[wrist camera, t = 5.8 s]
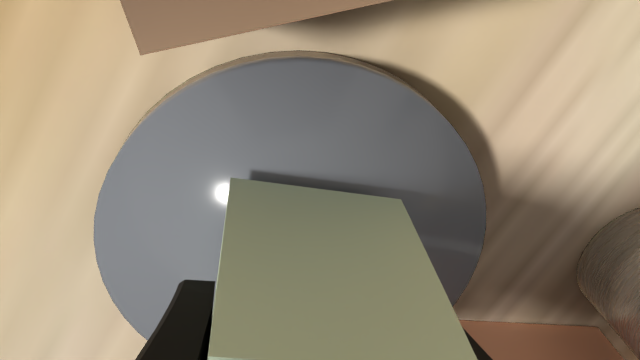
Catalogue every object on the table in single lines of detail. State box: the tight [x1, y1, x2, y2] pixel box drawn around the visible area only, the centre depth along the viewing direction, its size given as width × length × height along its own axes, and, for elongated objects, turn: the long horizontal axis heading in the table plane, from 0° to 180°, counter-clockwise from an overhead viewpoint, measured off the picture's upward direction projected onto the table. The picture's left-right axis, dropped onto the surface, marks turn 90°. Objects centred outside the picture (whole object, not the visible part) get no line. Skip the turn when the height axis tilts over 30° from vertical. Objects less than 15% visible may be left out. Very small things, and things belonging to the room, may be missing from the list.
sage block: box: [207, 178, 478, 360], centre depth 10 cm, size 4×4×5 cm
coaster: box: [94, 51, 486, 340], centre depth 13 cm, size 10×10×1 cm
